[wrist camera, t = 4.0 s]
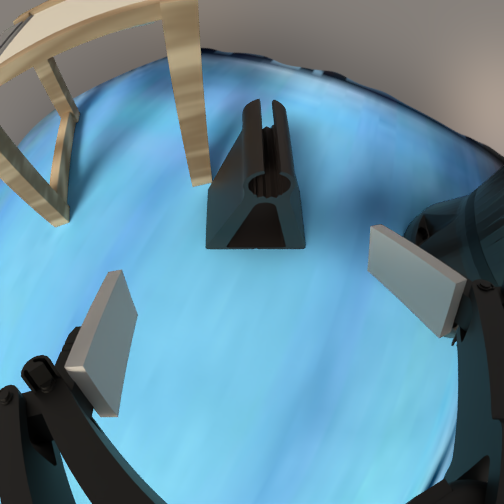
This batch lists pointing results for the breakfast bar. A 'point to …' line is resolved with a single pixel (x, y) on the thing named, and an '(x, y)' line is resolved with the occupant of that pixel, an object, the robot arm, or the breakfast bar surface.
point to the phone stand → (256, 189)
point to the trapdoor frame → (41, 58)
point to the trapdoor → (54, 22)
